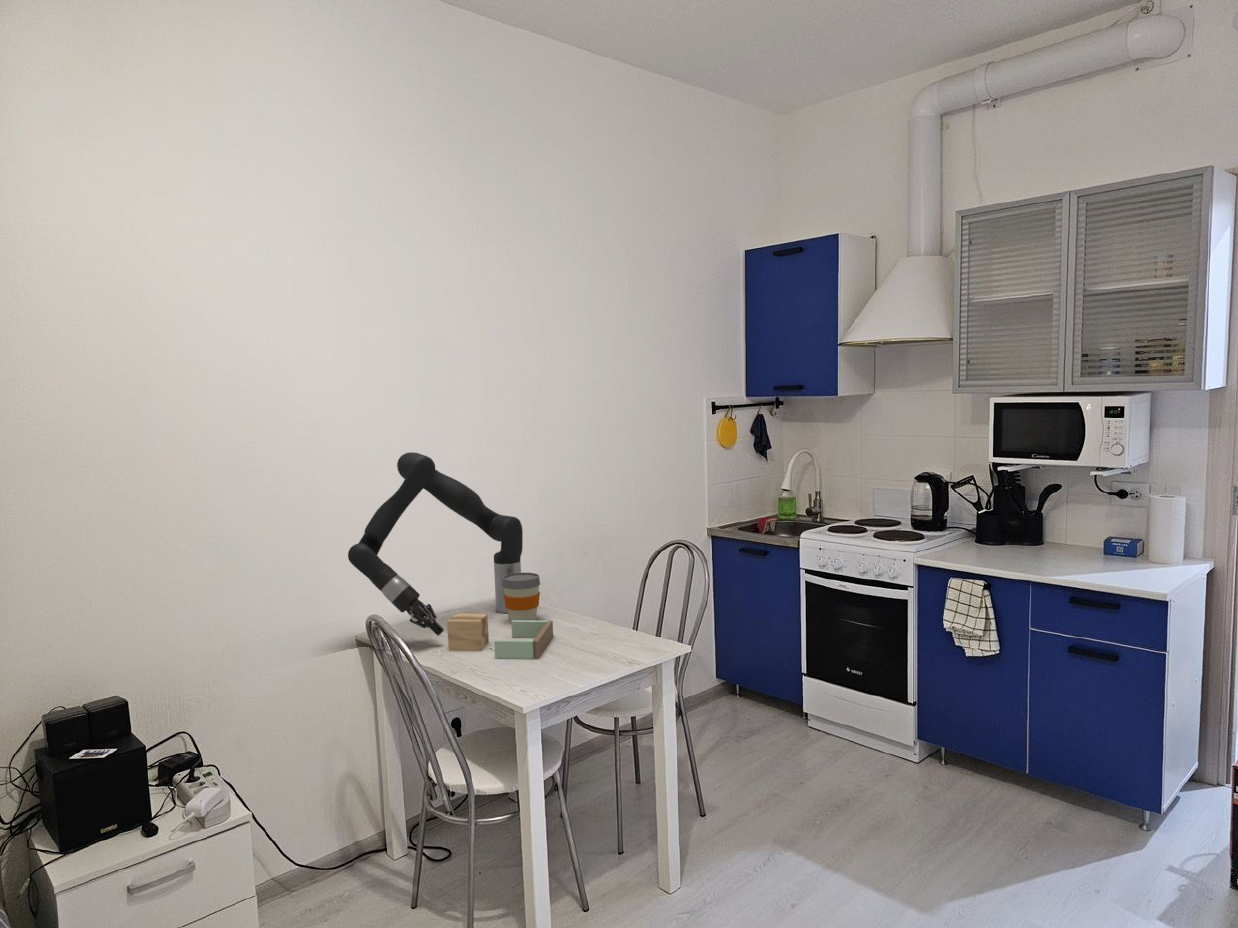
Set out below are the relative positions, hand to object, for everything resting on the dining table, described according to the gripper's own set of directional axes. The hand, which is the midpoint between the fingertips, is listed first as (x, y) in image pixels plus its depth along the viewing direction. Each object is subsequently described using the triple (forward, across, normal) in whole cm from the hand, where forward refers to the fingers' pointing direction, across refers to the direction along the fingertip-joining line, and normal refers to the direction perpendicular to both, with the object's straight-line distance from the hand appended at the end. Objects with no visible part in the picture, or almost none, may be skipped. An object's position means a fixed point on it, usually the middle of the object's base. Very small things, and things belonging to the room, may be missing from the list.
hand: (441, 632), depth 247 cm
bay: (+21, 0, -15) cm, 26 cm away
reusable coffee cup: (+16, +27, -10) cm, 33 cm away
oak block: (+9, 0, -3) cm, 9 cm away
